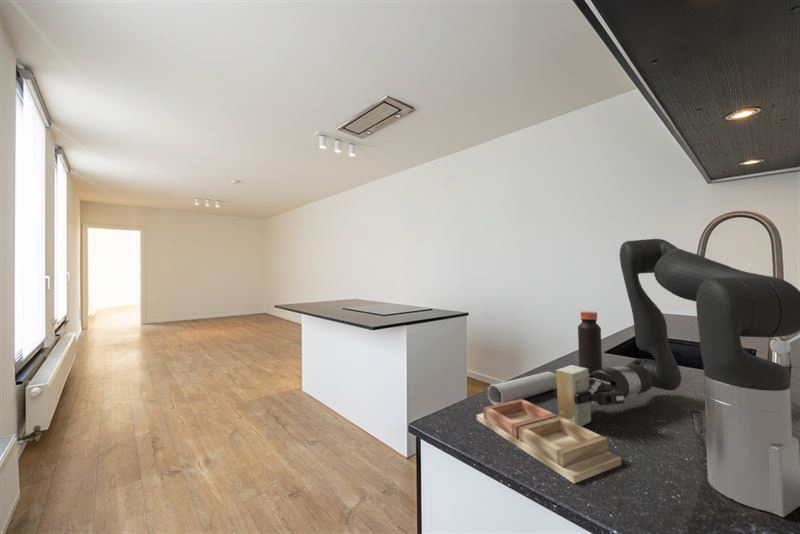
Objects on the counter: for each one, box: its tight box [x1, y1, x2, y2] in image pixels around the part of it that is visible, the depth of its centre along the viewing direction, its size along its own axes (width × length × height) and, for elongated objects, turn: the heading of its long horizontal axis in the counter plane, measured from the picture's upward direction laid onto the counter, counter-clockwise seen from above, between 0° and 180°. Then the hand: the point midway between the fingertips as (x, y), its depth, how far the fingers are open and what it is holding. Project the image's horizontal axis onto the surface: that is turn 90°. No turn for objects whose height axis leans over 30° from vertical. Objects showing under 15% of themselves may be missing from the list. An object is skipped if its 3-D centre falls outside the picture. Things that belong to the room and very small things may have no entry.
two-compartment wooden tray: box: [476, 399, 622, 484], centre depth 68 cm, size 26×12×4 cm, turn 24°
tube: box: [487, 371, 557, 405], centre depth 92 cm, size 5×5×25 cm
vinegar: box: [577, 311, 603, 374], centre depth 113 cm, size 7×7×20 cm
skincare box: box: [555, 364, 592, 427], centre depth 76 cm, size 6×4×12 cm
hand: (565, 395), depth 74 cm, fingers closed on skincare box, 4 cm apart
